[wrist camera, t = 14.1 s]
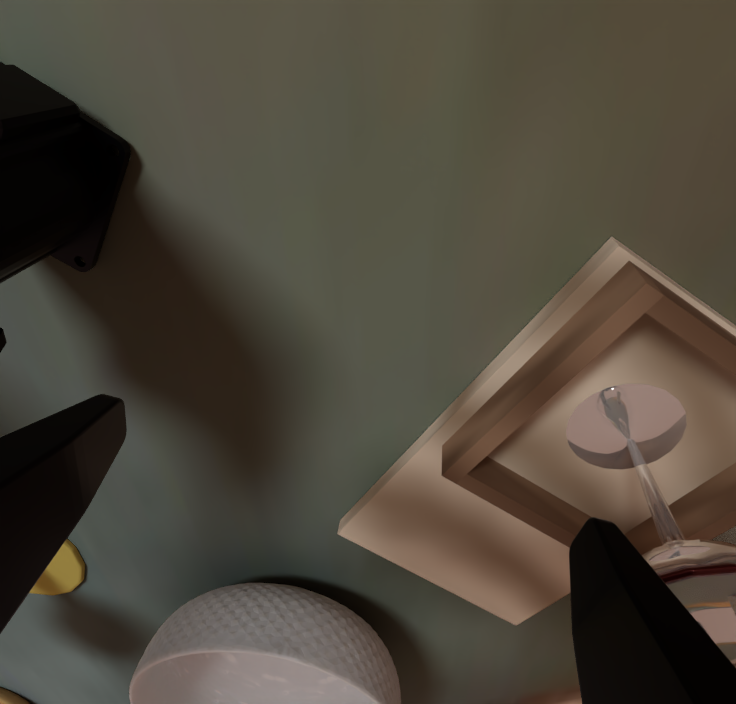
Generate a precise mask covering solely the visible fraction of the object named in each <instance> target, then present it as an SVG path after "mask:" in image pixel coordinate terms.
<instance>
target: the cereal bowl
mask: <svg viewBox="0 0 736 704" xmlns="http://www.w3.org/2000/svg"><path fill="white" fill-rule="evenodd" d="M129 696H130V702H131V704H401V691H400V686H399V678H398V675H397V671H396V667H395V666H394V664H393V659H392V657H391V656H390V654H389V652H388V649H387V648H386V646H385V645H384V643H383V641H382V640H381V639H380V638H379V636H378V635H377V633H376V631H374V630H373V629H372V628H371V626H370V625H369V624H368V623H366V622H365V621H364V620H363V618H361V617H360V616H358V615H357V614H356V613H354V612H353V611H352V610H350V609H348V608H347V607H345V606H344V605H341V604H339V603H338V602H336V601H334V600H332V599H330V598H329V597H325V596H324V595H320V594H318V593H315V592H313V591H309V590H306V589H303V588H300V587H296V586H291V585H284V584H274V583H245V584H241V583H240V584H236V585H230V586H225V587H222V588H217V589H215V590H212V591H208V592H206V593H205V594H202V595H199V596H198V597H196V598H195V599H192V600H190V601H189V602H188V603H186V604H184V605H182V606H181V607H180V608H179V609H178V610H176V611H175V612H173V614H172V615H171V616H170V617H169V618H167V619H166V621H165V622H164V624H163V625H162V626H161V627H159V629H158V631H157V633H156V634H155V635H154V636H153V638H152V639H151V642H150V643H149V644H148V646H147V648H146V649H145V652H144V654H143V656H142V658H141V659H140V661H139V664H138V665H137V668H136V670H135V672H134V675H133V677H132V680H131V683H130V687H129Z"/></svg>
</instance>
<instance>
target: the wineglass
mask: <svg viewBox="0 0 736 704" xmlns="http://www.w3.org/2000/svg"><path fill="white" fill-rule="evenodd" d="M686 426H687V423H686V411H685V410H684V408H683V406H682V405H681V403H680V402H679V400H678V399H677V398H676V397H674V396H673V395H671V394H670V393H669V392H667V391H666V390H664V389H661V388H657V387H654V386H651V385H648V384H623V385H618V386H613V387H608V388H606V389H604V390H601V391H599V392H597V393H595V394H593V395H591V396H589V397H588V398H587V399H586V400H584V401H583V402H582V403H581V404H579V405H578V406H577V407H576V409H575V410H574V412H573V413H572V415H571V416H570V418H569V420H568V424H567V429H566V436H567V440H568V444H569V446H570V447H571V449H572V450H573V451H574V453H575V454H576V455H577V456H578V457H579V458H581V459H583V460H584V461H586V462H587V463H589V464H592V465H595V466H598V467H601V468H606V469H629V468H635V470H636V473H637V476H638V479H639V481H640V484H641V487H642V490H643V493H644V496H645V498H646V501H647V504H648V507H649V510H650V513H651V515H652V518H653V521H654V524H655V527H656V530H657V532H658V535H659V538H660V541H661V544H662V546H660V547H657V548H654V549H652V550H650V551H648V552H647V553H645V554H643V555H642V556H643V557H644V559H645V560H646V561H647V562H648V563H649V565H650V566H651V567H652V568H653V569H654V571H655V572H656V573H657V574H658V575H659V577H660V578H661V579H662V580H663V581H664V583H665V584H666V585H667V586H668V587H669V589H670V590H671V591H672V592H673V593H674V594H675V596H676V597H677V598H678V599H679V600H680V602H681V603H682V604H683V605H684V606H685V608H686V609H687V610H688V611H689V612H690V614H691V615H692V616H693V617H694V618H695V620H696V621H697V622H698V623H699V624H700V626H701V627H702V628H703V629H704V630H705V631H706V633H707V634H708V635H709V636H710V637H711V639H712V640H713V641H714V642H715V643H716V645H717V646H718V647H719V648H720V649H721V651H722V652H723V653H724V654H725V655H726V657H727V658H728V659H729V660H730V661H731V663H732V664H733V665H734V666H735V667H736V545H734V544H730V543H727V542H723V541H713V540H700V539H698V540H689V541H688V540H686V539H685V537H684V535H683V533H682V531H681V529H680V527H679V526H678V524H677V522H676V520H675V518H674V516H673V514H672V512H671V510H670V508H669V506H668V504H667V502H666V500H665V498H664V496H663V494H662V493H661V491H660V489H659V487H658V485H657V483H656V481H655V479H654V477H653V475H652V473H651V471H650V469H649V467H648V465H647V464H649V463H652V462H654V461H657V460H658V459H660V458H661V457H663V456H664V455H666V454H667V453H669V452H670V451H672V449H673V448H674V447H675V446H676V445H677V444H678V442H679V441H680V440H681V439H682V436H683V434H684V431H685V428H686Z"/></svg>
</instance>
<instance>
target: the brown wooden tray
mask: <svg viewBox="0 0 736 704" xmlns="http://www.w3.org/2000/svg"><path fill="white" fill-rule="evenodd" d="M623 384H648V385H651V386H654V387H657V388H661V389H664V390H666V391H667V392H669V393H670V394H671V395H673V396H674V397H676V398H677V399H678V400H679V402H680V403H681V405H682V406H683V408H684V410H685V411H686V423H687V426H686V428H685V431H684V434H683V436H682V439H681V440H680V441H679V442H678V444H677V445H676V446H675V447H674V448H673V449H672V451H670V452H669V453H667V454H666V455H664V456H663V457H661V458H660V459H658V460H657V461H654V462H652V463H649V464H647V465H648V467H649V469H650V471H651V473H652V475H653V477H654V479H655V481H656V483H657V485H658V487H659V489H660V491H661V493H662V494H663V496H664V498H665V500H666V502H667V504H668V506H669V508H670V510H671V512H672V514H673V516H674V518H675V520H676V522H677V524H678V526H679V527H680V529H681V531H682V533H683V535H684V537H685V539H686V540H688V541H689V540H698V539H700V540H711V539H713V538H715V537H717V536H718V535H720V534H722V533H724V532H725V531H727V530H729V529H731V528H732V527H734V526H736V326H735V325H734V324H733V323H731V322H730V321H729V320H727V319H726V318H724V317H723V316H722V315H720V314H719V313H717V312H716V311H715V310H713V309H712V308H710V307H709V306H708V305H706V304H705V303H704V302H702V301H701V300H699V299H698V298H697V297H695V296H694V295H692V294H691V293H690V292H688V291H687V290H685V289H684V288H683V287H681V286H680V285H679V284H677V283H676V282H674V281H673V280H672V279H670V278H669V277H667V276H666V275H665V274H663V273H662V272H660V271H659V270H658V269H656V268H655V267H654V266H652V265H651V264H649V263H648V262H647V261H645V260H644V259H642V258H641V257H640V256H638V255H637V254H635V253H634V252H633V251H631V250H630V249H629V248H627V247H626V246H624V245H623V244H622V243H620V242H619V241H617V240H616V239H615V238H613V237H611V238H610V239H609V240H608V241H607V242H606V243H605V244H604V245H603V246H602V247H601V248H600V249H599V250H598V251H597V252H596V253H595V254H594V255H593V256H592V258H591V259H590V260H589V261H588V262H587V263H586V264H585V265H584V266H583V267H582V268H581V269H580V270H579V271H578V272H577V273H576V274H575V275H574V276H573V277H572V278H571V279H570V281H569V282H568V283H567V284H566V285H565V286H564V287H563V288H562V289H561V290H560V291H559V292H558V293H557V294H556V295H555V296H554V297H553V298H552V299H551V300H550V301H549V302H548V303H547V305H546V306H545V307H544V308H543V309H542V310H541V311H540V312H539V313H538V314H537V315H536V316H535V317H534V318H533V319H532V320H531V321H530V322H529V323H528V324H527V325H526V326H525V328H524V329H523V330H522V331H521V332H520V333H519V334H518V335H517V336H516V337H515V338H514V339H513V340H512V341H511V342H510V343H509V344H508V345H507V346H506V347H505V348H504V349H503V350H502V352H501V353H500V354H499V355H498V356H497V357H496V358H495V359H494V360H493V361H492V362H491V363H490V364H489V365H488V366H487V367H486V368H485V369H484V370H483V371H482V372H481V373H480V375H479V376H478V377H477V378H476V379H475V380H474V381H473V382H472V383H471V384H470V385H469V386H468V387H467V388H466V389H465V390H464V391H463V392H462V393H461V394H460V395H459V396H458V398H457V399H456V400H455V401H454V402H453V403H452V404H451V405H450V406H449V407H448V408H447V409H446V410H445V411H444V412H443V413H442V414H441V415H440V416H439V417H438V418H437V419H436V420H435V422H434V423H433V424H432V425H431V426H430V427H429V428H428V429H427V430H426V431H425V432H424V433H423V434H422V435H421V436H420V437H419V438H418V439H417V440H416V441H415V442H414V443H413V445H412V446H411V447H410V448H409V449H408V450H407V451H406V452H405V453H404V454H403V455H402V456H401V457H400V458H399V459H398V460H397V461H396V462H395V463H394V464H393V465H392V466H391V468H390V469H389V470H388V471H387V472H386V473H385V474H384V475H383V476H382V477H381V478H380V479H379V480H378V481H377V482H376V483H375V484H374V485H373V486H372V487H371V488H370V489H369V490H368V492H367V493H366V494H365V495H364V496H363V497H362V498H361V499H360V500H359V501H358V502H357V503H356V504H355V505H354V506H353V507H352V508H351V509H350V510H349V511H348V512H347V513H346V515H345V516H344V517H343V518H342V519H341V520H340V524H339V528H338V533H337V534H338V535H340V536H342V537H344V538H346V539H348V540H350V541H352V542H354V543H356V544H358V545H360V546H362V547H364V548H366V549H368V550H370V551H372V552H374V553H375V554H377V555H379V556H381V557H383V558H385V559H387V560H389V561H391V562H393V563H395V564H397V565H399V566H401V567H403V568H405V569H407V570H409V571H411V572H413V573H414V574H416V575H418V576H420V577H422V578H424V579H426V580H428V581H430V582H432V583H434V584H436V585H438V586H440V587H442V588H444V589H446V590H448V591H450V592H452V593H453V594H455V595H457V596H459V597H461V598H463V599H465V600H467V601H469V602H471V603H473V604H475V605H477V606H479V607H481V608H483V609H485V610H487V611H489V612H490V613H492V614H494V615H496V616H498V617H500V618H502V619H504V620H506V621H508V622H510V623H512V624H514V625H518V624H520V623H521V622H523V621H525V620H526V619H528V618H529V617H531V616H533V615H534V614H536V613H538V612H539V611H541V610H543V609H544V608H546V607H548V606H549V605H551V604H552V603H554V602H556V601H557V600H559V599H561V598H562V597H564V596H566V595H567V594H569V593H570V568H569V549H570V546H571V543H572V541H573V540H574V538H575V537H576V535H577V534H578V532H579V531H580V529H581V528H582V527H583V525H584V524H585V522H586V521H587V520H588V519H589V518H591V517H596V518H600V519H604V520H608V521H611V522H613V523H615V524H616V525H617V526H618V528H619V529H620V530H621V531H622V532H623V534H624V535H625V536H626V537H627V538H628V540H629V541H630V542H631V543H632V544H633V546H634V547H635V548H636V549H637V550H638V551H639V553H640V554H641V555H643V554H645V553H647V552H648V551H650V550H652V549H654V548H657V547H660V546H662V544H661V541H660V538H659V535H658V532H657V530H656V527H655V524H654V521H653V518H652V515H651V513H650V510H649V507H648V504H647V501H646V498H645V496H644V493H643V490H642V487H641V484H640V481H639V479H638V476H637V473H636V470H635V468H629V469H606V468H601V467H598V466H595V465H592V464H589V463H587V462H586V461H584V460H583V459H581V458H579V457H578V456H577V455H576V454H575V453H574V451H573V450H572V449H571V447H570V446H569V444H568V440H567V436H566V429H567V424H568V420H569V418H570V416H571V415H572V413H573V412H574V410H575V409H576V407H577V406H578V405H579V404H581V403H582V402H583V401H584V400H586V399H587V398H588V397H589V396H591V395H593V394H595V393H597V392H599V391H601V390H604V389H606V388H608V387H613V386H618V385H623Z"/></svg>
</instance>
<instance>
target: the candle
mask: <svg viewBox="0 0 736 704" xmlns="http://www.w3.org/2000/svg"><path fill="white" fill-rule="evenodd" d="M84 574H85V563H84V561H83V559H82V558H81V556H80V554H79V552H78V550H77V548H76V547H75V546H74V545H73V544H72V543H71V542H70V541H69V540H68V539H66V541H65V542H64V543H63V545H62V546H61V548H60V549H59V551H58V552H57V554H56V555H55V556H54V558H53V559H52V561H51V562H50V564H49V565H48V566H47V568H46V569H45V571H44V572H43V574H42V575H41V576H40V578H39V579H38V581H37V582H36V584H35V585H34V586H33V588H32V589H31V591H30V592H29V593H35V594H44V595H57V594H62V593H67V592H71V591H72V590H73V589H74V588H76V587H77V586H78V585H79V584H80V583H81V582H82V581H83V580H84Z"/></svg>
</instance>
